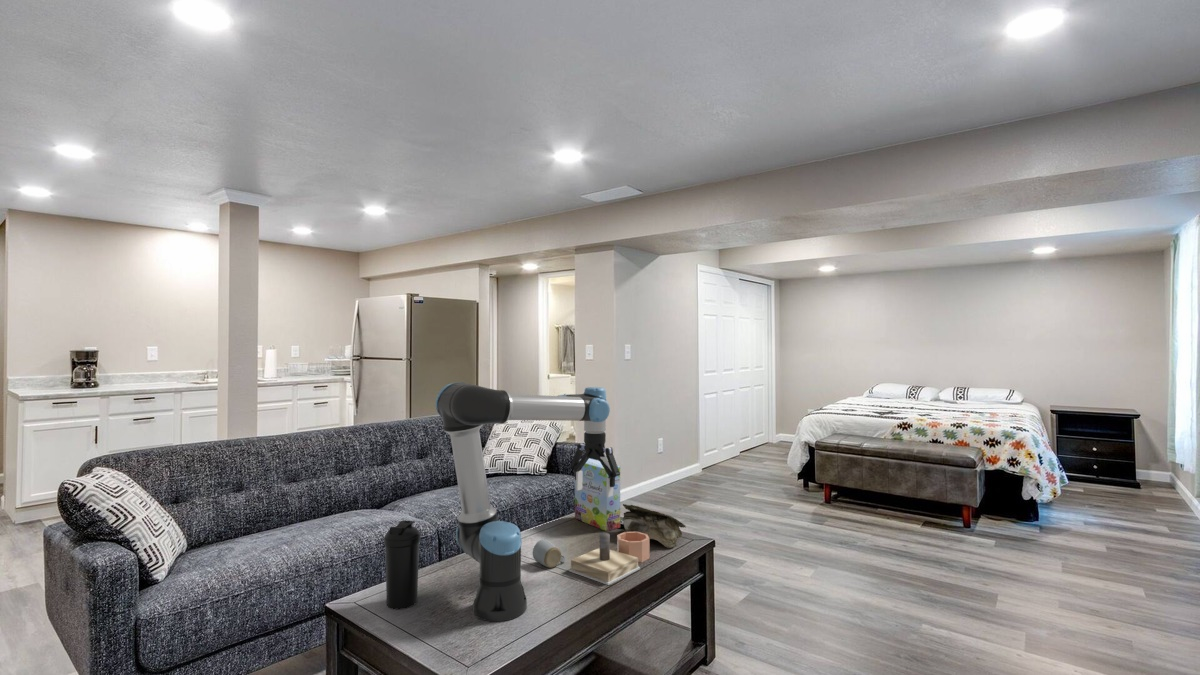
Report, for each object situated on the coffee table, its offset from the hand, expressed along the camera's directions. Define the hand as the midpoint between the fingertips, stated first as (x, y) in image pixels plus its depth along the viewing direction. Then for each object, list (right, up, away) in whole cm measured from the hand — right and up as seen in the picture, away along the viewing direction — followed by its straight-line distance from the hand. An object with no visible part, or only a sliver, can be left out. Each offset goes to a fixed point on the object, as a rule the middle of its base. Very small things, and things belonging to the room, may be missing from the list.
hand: (594, 493), depth 199 cm
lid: (+4, -23, -7) cm, 25 cm away
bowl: (+14, -24, +5) cm, 28 cm away
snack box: (+1, -25, +42) cm, 49 cm away
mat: (+4, -24, -7) cm, 25 cm away
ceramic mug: (-15, -24, -2) cm, 29 cm away
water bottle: (-56, -24, -31) cm, 69 cm away
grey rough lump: (+22, -25, +24) cm, 41 cm away
